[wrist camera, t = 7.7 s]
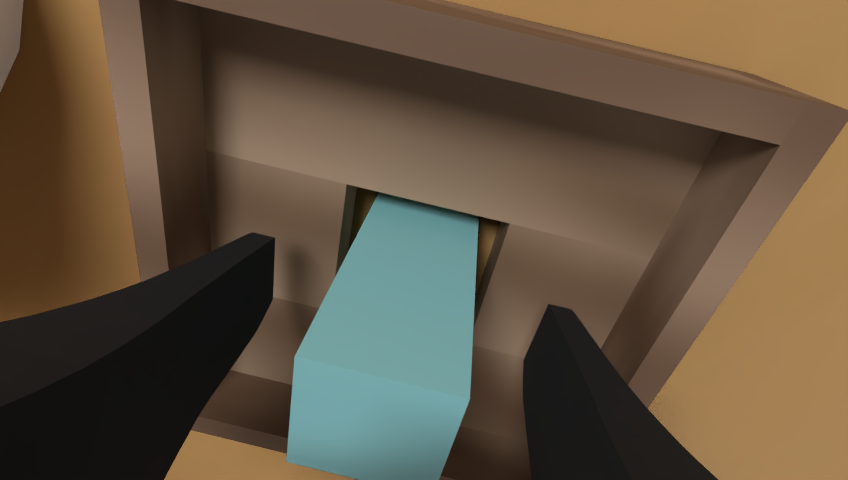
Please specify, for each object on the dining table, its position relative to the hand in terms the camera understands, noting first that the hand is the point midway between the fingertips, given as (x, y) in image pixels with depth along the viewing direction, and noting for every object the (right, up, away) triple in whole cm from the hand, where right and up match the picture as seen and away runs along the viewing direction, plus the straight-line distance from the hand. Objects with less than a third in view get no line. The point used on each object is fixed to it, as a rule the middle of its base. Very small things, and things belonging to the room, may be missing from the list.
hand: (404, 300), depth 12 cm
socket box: (0, +1, +3) cm, 3 cm away
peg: (0, +2, +2) cm, 3 cm away
